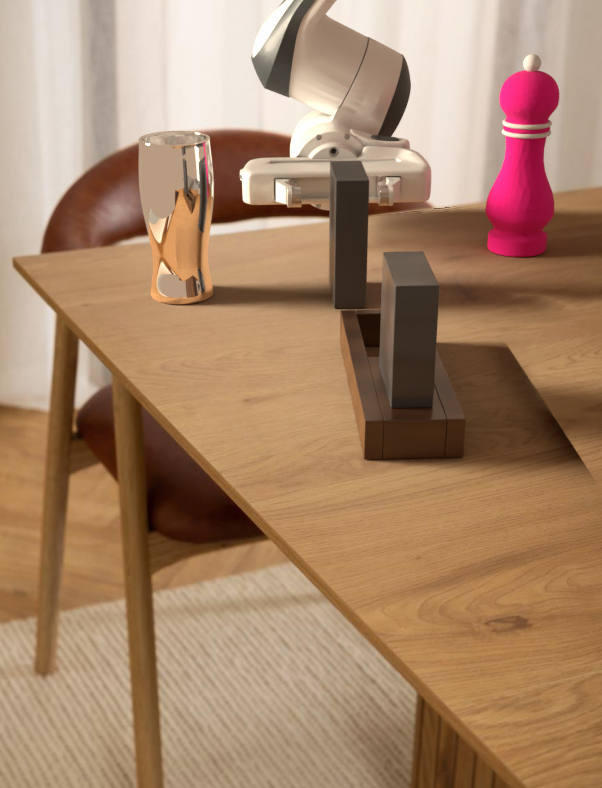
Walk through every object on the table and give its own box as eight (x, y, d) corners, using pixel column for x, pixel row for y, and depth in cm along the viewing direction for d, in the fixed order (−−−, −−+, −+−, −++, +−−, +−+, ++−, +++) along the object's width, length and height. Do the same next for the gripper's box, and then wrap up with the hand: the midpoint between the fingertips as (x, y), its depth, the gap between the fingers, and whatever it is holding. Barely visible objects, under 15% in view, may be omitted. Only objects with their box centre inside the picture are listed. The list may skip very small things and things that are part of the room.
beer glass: (131, 295, 116) (120, 138, 109) (185, 278, 120) (177, 127, 113) (178, 311, 111) (170, 149, 104) (232, 293, 116) (227, 137, 109)
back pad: (328, 282, 119) (329, 160, 113) (358, 281, 119) (361, 160, 113) (334, 308, 112) (335, 180, 106) (366, 308, 112) (369, 180, 106)
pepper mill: (479, 239, 131) (492, 49, 122) (544, 239, 131) (562, 48, 122) (486, 258, 125) (501, 59, 116) (555, 259, 125) (575, 59, 115)
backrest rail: (339, 342, 104) (341, 206, 98) (419, 341, 104) (426, 205, 98) (364, 459, 83) (368, 296, 78) (463, 457, 83) (474, 294, 78)
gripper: (238, 141, 131) (238, 169, 119) (422, 138, 132) (440, 166, 120) (239, 197, 134) (239, 231, 122) (419, 194, 135) (437, 227, 122)
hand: (340, 198), depth 121 cm, fingers open, 8 cm apart
